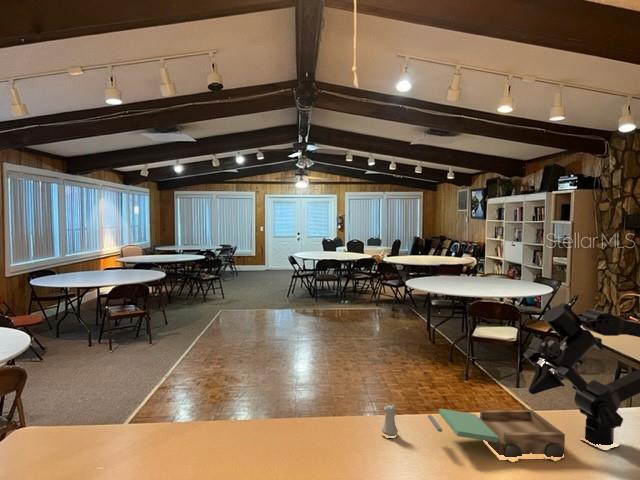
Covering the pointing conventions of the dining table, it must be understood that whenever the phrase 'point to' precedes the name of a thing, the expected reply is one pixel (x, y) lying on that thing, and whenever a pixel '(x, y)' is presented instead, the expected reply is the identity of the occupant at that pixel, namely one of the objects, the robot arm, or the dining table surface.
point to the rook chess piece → (389, 421)
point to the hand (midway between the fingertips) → (530, 392)
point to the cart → (523, 433)
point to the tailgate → (465, 425)
